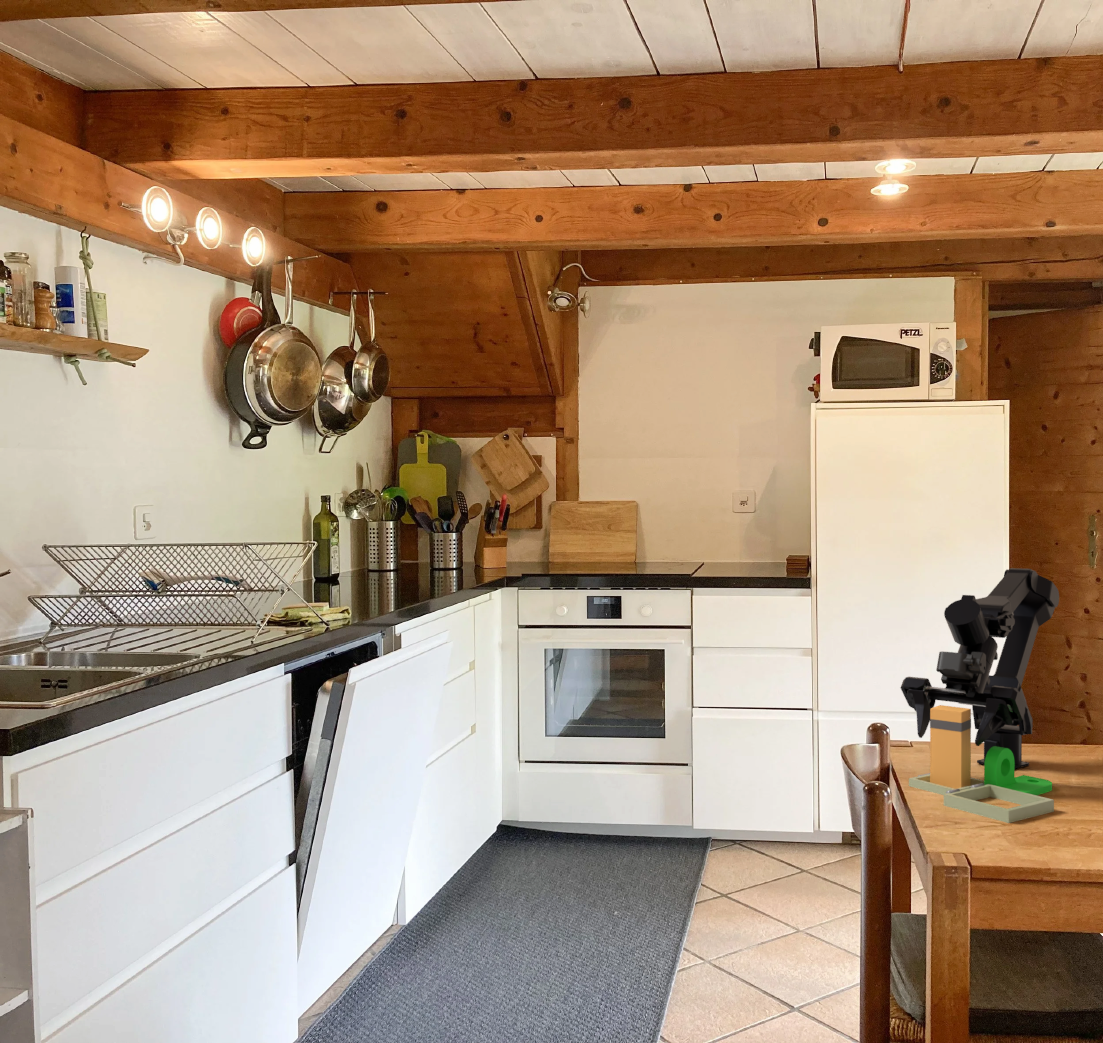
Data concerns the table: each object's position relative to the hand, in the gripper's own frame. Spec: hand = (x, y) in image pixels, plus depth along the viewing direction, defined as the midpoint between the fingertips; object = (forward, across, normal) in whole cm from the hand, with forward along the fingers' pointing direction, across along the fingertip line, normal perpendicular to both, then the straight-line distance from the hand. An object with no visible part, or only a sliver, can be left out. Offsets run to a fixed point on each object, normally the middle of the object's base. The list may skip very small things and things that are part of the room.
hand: (947, 740), depth 173 cm
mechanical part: (+1, +9, +12) cm, 15 cm away
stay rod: (0, -5, +12) cm, 13 cm away
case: (+10, +10, +2) cm, 14 cm away
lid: (+5, 0, +7) cm, 9 cm away
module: (+5, 0, +6) cm, 8 cm away
